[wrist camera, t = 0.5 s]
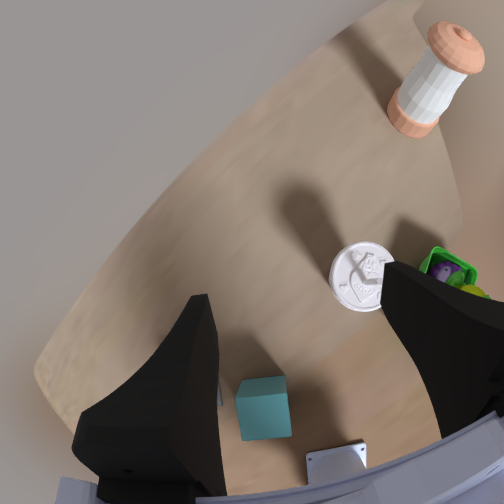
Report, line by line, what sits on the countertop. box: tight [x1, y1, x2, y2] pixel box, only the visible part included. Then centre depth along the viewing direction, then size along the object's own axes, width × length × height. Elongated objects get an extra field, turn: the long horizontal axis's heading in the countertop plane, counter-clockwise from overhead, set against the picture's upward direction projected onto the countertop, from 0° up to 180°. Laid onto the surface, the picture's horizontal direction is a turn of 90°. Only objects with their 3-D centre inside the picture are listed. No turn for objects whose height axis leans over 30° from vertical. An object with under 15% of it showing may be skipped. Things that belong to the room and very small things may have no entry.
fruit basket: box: [418, 246, 492, 300], centre depth 29 cm, size 11×9×11 cm
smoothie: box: [329, 241, 394, 312], centre depth 29 cm, size 6×6×14 cm
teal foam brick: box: [235, 375, 292, 441], centre depth 31 cm, size 5×5×7 cm
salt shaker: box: [387, 21, 485, 138], centre depth 28 cm, size 7×7×19 cm
